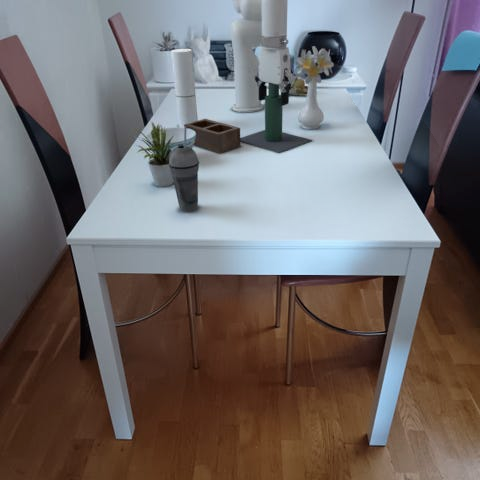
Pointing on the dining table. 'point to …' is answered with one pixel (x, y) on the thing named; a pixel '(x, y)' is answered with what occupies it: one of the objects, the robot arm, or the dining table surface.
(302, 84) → the ceramic sculpture
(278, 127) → the bottle
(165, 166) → the house plant
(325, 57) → the flower vase
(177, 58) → the cylindrical container
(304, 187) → the dining table surface
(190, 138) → the chinaware
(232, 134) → the caddy
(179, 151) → the beverage cup
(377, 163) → the dining table surface
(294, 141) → the mat
